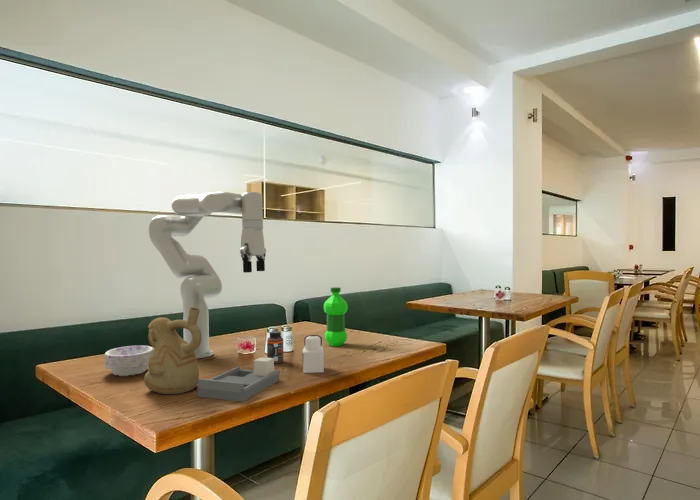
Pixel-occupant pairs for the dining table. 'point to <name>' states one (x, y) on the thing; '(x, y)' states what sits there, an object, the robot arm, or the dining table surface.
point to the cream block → (263, 366)
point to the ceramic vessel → (173, 355)
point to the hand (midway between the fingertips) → (254, 271)
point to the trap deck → (235, 384)
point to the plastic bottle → (335, 318)
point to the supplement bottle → (275, 347)
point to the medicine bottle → (313, 354)
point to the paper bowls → (128, 360)
